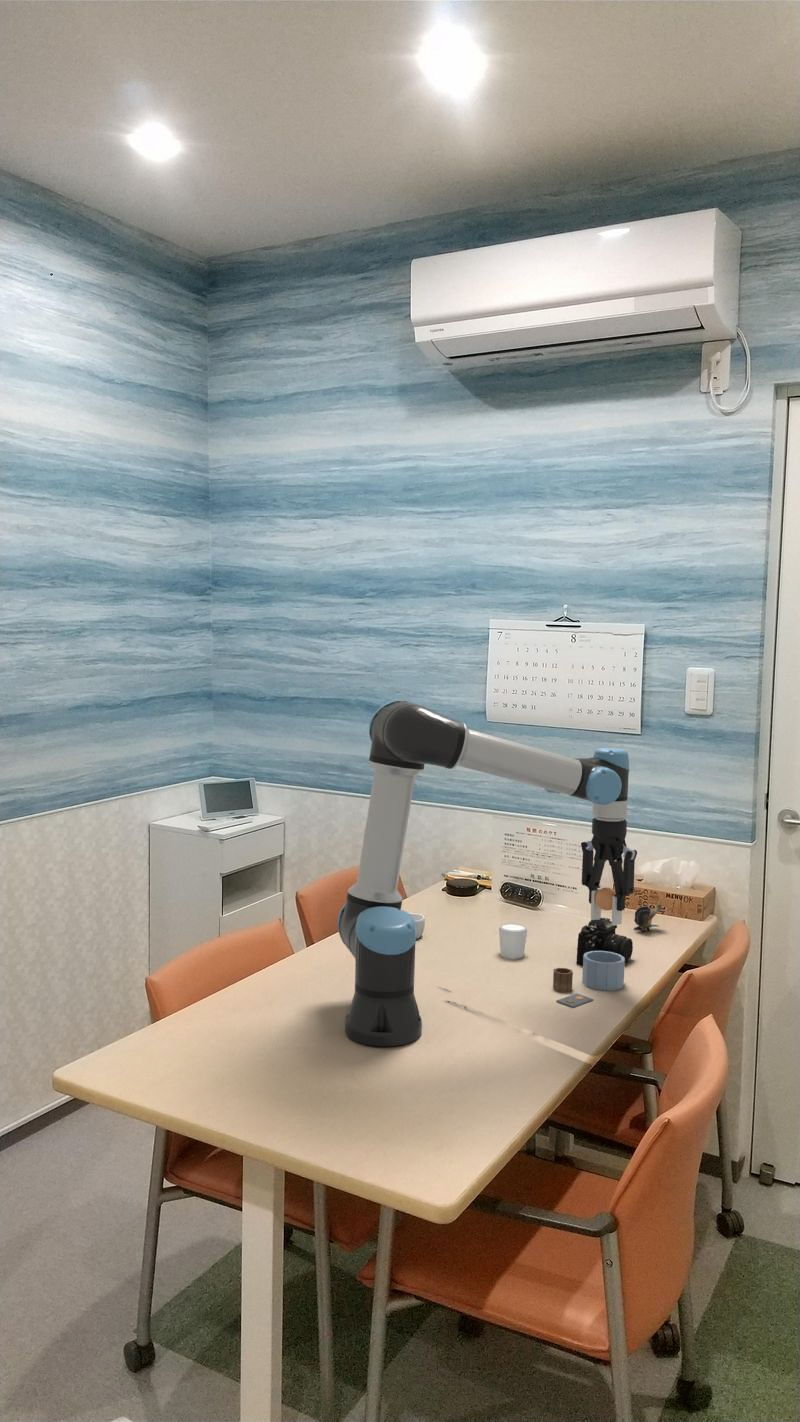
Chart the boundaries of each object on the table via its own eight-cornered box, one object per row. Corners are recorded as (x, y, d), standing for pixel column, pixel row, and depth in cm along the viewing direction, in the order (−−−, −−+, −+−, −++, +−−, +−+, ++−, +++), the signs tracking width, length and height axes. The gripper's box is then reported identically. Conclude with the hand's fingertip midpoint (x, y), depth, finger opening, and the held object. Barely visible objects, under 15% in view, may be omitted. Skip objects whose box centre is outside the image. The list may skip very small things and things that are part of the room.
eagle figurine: (653, 942, 253) (655, 908, 252) (627, 937, 257) (628, 903, 256) (663, 936, 259) (665, 902, 258) (637, 931, 263) (639, 897, 262)
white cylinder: (527, 960, 236) (528, 931, 235) (499, 959, 236) (500, 930, 236) (524, 951, 243) (525, 923, 242) (496, 950, 243) (497, 922, 242)
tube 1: (563, 993, 214) (564, 975, 214) (549, 988, 217) (550, 970, 217) (575, 989, 217) (576, 971, 216) (561, 984, 220) (561, 966, 219)
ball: (609, 914, 216) (609, 891, 216) (590, 909, 220) (591, 887, 220) (622, 910, 220) (623, 888, 219) (603, 905, 223) (604, 883, 223)
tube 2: (607, 993, 215) (608, 966, 214) (574, 982, 221) (575, 955, 221) (631, 984, 221) (632, 958, 220) (598, 974, 227) (599, 948, 227)
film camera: (628, 975, 227) (629, 933, 226) (574, 968, 231) (575, 926, 230) (635, 953, 244) (636, 913, 243) (584, 947, 248) (586, 908, 247)
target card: (572, 1007, 205) (573, 1005, 205) (556, 1001, 209) (556, 1000, 209) (593, 1000, 210) (593, 998, 210) (576, 994, 213) (576, 992, 213)
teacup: (405, 931, 257) (405, 911, 257) (430, 936, 253) (430, 916, 253) (383, 940, 249) (383, 919, 249) (408, 946, 245) (409, 924, 244)
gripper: (654, 822, 214) (650, 927, 216) (587, 810, 228) (583, 910, 229) (634, 826, 209) (630, 933, 211) (566, 814, 222) (563, 915, 224)
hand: (606, 921), depth 220 cm, fingers closed on ball, 5 cm apart
